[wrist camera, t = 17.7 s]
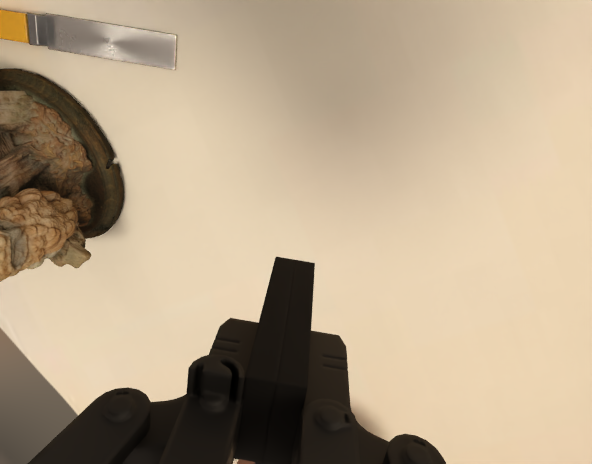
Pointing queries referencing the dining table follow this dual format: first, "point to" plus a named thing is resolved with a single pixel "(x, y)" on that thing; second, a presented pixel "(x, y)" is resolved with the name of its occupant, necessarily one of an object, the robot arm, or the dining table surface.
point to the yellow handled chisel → (91, 38)
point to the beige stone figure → (51, 176)
